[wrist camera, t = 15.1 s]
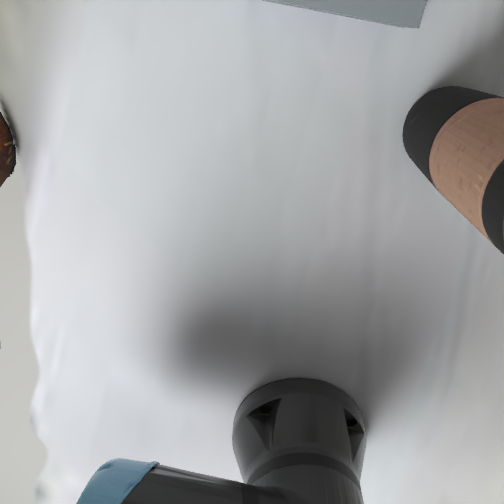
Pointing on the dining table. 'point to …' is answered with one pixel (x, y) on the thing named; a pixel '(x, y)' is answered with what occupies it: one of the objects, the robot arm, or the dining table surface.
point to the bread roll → (6, 151)
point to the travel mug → (462, 153)
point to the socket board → (368, 9)
